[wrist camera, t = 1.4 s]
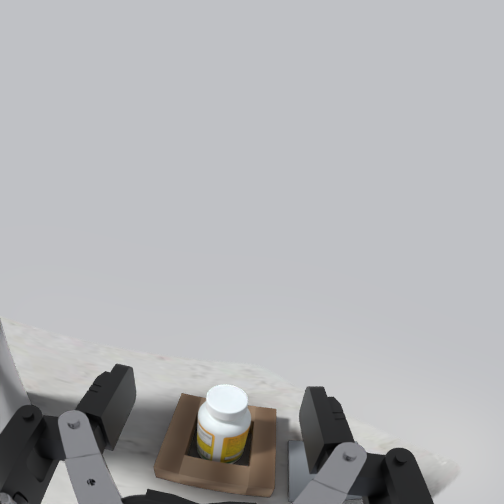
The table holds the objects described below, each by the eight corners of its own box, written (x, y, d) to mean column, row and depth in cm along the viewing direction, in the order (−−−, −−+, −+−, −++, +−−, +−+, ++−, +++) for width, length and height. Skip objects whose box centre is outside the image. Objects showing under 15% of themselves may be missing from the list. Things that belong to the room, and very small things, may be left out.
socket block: (155, 476, 22) (153, 467, 21) (181, 405, 33) (181, 393, 33) (269, 497, 21) (274, 488, 21) (272, 420, 33) (276, 408, 32)
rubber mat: (288, 501, 21) (289, 500, 21) (288, 441, 30) (288, 440, 29) (366, 497, 21) (368, 496, 21) (355, 443, 29) (356, 441, 29)
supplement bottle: (191, 460, 25) (191, 410, 22) (203, 428, 30) (206, 374, 27) (239, 471, 25) (251, 423, 22) (246, 437, 30) (258, 385, 27)
